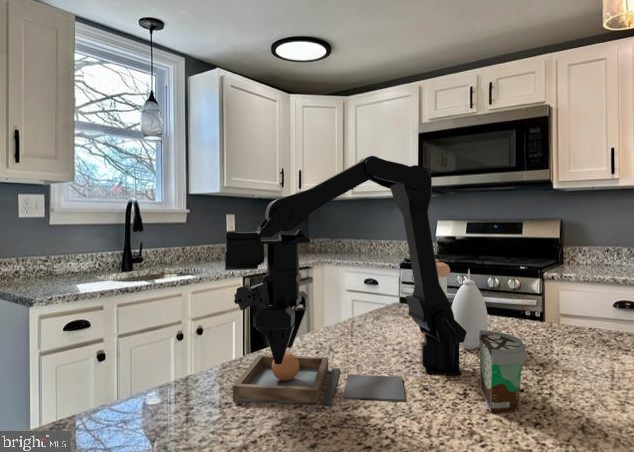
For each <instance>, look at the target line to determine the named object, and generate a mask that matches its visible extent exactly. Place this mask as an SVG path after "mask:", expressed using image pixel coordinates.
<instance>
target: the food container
mask: <svg viewBox="0 0 634 452" xmlns="http://www.w3.org/2000/svg"><path fill="white" fill-rule="evenodd" d="M479 341H480V345H479V377H480V380H479V381H480V383H479V385H480V391H481V393H482V396H483V398H484V400H485V403H486V405H487V408H488V410H489V412H490V413H493V414H495V413H496V414H503V413H510V412H513V411H515V410H517V408H518V407H519V404H520V403H519V401H520V392H521V391H520V388H521V382H522V381H521V379H522V370H523V369H522V367H523V362H524V361H526V360H527V359H528V354H527V353H528V352H527V350H526V346H525V344H524V341H523V340H522V339H520V338H519V337H517V336H514V335H511V334H508V333H504V332H499V331H493V330H492V331H491V330H487V331H485V330H480V333H479Z"/></svg>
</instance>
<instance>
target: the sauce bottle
mask: <svg viewBox="0 0 634 452" xmlns="http://www.w3.org/2000/svg"><path fill="white" fill-rule="evenodd" d="M470 273H471V272H470V269H468V271H467V279H465V280H463V281H462V285H461V286H460V287H459V289H458V290H457V292H456V294H455V296H454V298H453V302H452V304H451V308H452V311H453V314H454V319H455V320H456V321H457V322H458V323H459V324H460V325H461V326H462V328H463V329H464V330H465V331H466V332H467V333H466V337H465V340H464V342H463V343H459V346H461V347H462V348H464V349H465V350H469V351H471V350H474V349H476V348H478V346H480V341H479V333H480V330H485V331H488V327H489V325H488V324H489V319H488V316H489V315H488V311H487V306H486V302H485V300H484V297H483V294H482V293H481V291H480V289H479V288H478V286H477V285H476V281H475V280H472V279H471V274H470Z"/></svg>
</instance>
